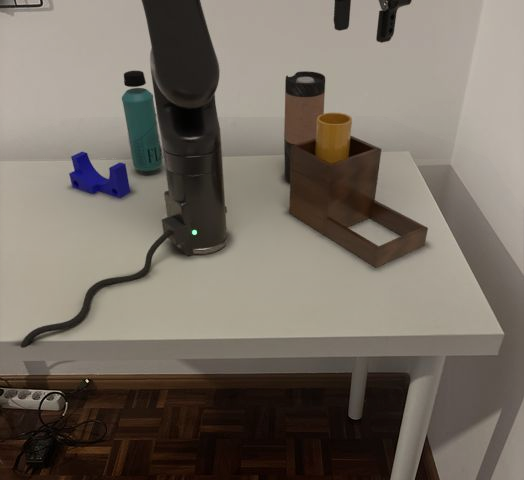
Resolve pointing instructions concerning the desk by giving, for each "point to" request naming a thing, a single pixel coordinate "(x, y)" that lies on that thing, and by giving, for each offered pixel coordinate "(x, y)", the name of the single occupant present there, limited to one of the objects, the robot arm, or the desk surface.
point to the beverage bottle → (141, 123)
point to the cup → (333, 136)
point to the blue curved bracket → (98, 177)
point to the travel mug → (301, 110)
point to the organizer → (348, 201)
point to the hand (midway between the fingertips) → (361, 35)
